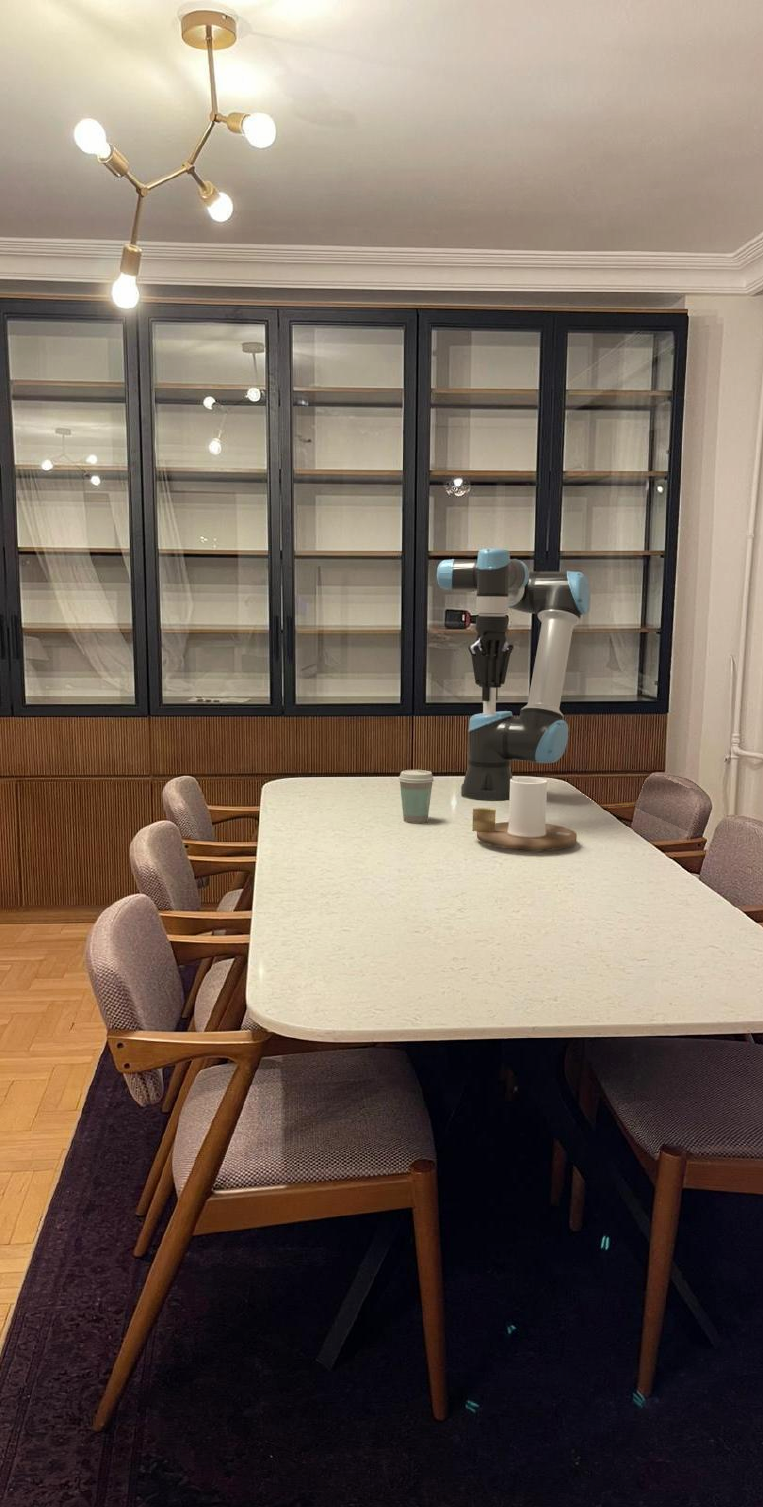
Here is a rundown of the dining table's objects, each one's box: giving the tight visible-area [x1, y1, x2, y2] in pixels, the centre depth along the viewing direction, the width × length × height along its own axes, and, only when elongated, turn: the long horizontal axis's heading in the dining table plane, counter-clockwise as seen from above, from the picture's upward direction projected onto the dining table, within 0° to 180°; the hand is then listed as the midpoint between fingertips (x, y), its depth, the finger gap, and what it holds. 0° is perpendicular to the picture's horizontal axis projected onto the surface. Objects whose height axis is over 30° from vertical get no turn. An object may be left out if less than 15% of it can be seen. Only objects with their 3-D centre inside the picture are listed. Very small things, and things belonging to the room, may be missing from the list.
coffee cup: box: [398, 769, 435, 824], centre depth 253 cm, size 8×8×12 cm
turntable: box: [472, 807, 578, 851], centre depth 231 cm, size 23×22×6 cm
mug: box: [507, 776, 548, 838], centre depth 230 cm, size 12×8×12 cm
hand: (489, 714), depth 249 cm, fingers closed
